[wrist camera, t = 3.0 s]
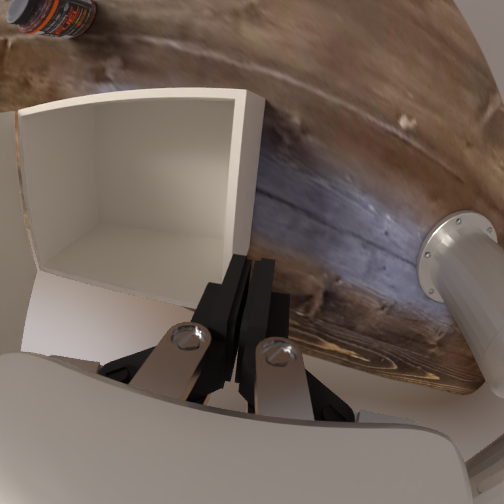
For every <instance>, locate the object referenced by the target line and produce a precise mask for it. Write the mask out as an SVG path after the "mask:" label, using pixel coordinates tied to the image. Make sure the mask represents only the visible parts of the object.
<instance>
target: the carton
mask: <svg viewBox="0 0 504 504" xmlns="http://www.w3.org/2000/svg"><path fill="white" fill-rule="evenodd" d="M265 100H266V99H264V98H262V97H260V96H258V95H256V94H254V93H252V92H250V91H248V90H242V89H224V88H158V89H141V90H129V91H118V92H110V93H102V94H94V95H87V96H81V97H75V98H70V99H64V100H59V101H54V102H50V103H45V104H41V105H37V106H33V107H29V108H25V109H21V110H18V132H19V153H20V166H21V175H22V184H23V192H24V198H25V205H26V211H27V216H28V222H29V227H30V231H31V236H32V240H33V244H34V249H35V253H36V257H37V260H38V264H39V268H40V270H41V271H44V272H48V273H51V274H54V275H57V276H61V277H64V278H68V279H71V280H75V281H79V282H82V283H86V284H90V285H94V286H97V287H101V288H105V289H109V290H113V291H117V292H121V293H125V294H129V295H133V296H138V297H142V298H146V299H151V300H155V301H160V302H164V303H169V304H173V305H178V306H183V307H188V308H193V309H196V308H197V306H198V304H199V302H200V299H201V297H202V295H203V293H204V290H205V288H206V286H207V284H208V282H212V283H218V284H222V282H223V279H224V276H225V274H226V271H227V269H228V266H229V263H230V261H231V258H232V256H233V254H239V255H245V256H247V253H248V250H249V247H250V238H251V229H252V219H253V210H254V201H255V192H256V182H257V173H258V164H259V155H260V146H261V137H262V127H263V118H264V109H265Z"/></svg>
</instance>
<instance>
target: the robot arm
mask: <svg viewBox="0 0 504 504" xmlns="http://www.w3.org/2000/svg"><path fill="white" fill-rule="evenodd" d="M251 262H252V260H248V259H247V256H245V255H239V254H233V256H232V258H231V261H230V263H229V266H228V269H227V271H226V274H225V276H224V279H223V282H222V284H218V283H212V282H208V284H207V286H206V288H205V290H204V293H203V295H202V297H201V299H200V302H199V304H198V306H197V308H196V311H195V313H194V315H193V317H192V320H191V322H183V323H179V324H176V325H175V326H172V327H171V328H170V329H169V330H168V331H167V333H166V334H165V335H164V337H163V338H162V340H161V341H160V342H159V343H158V345H157V346H155V347H152V348H149V349H146V350H144V351H141V352H138V353H135V354H132V355H129V356H126V357H123V358H120V359H117V360H114V361H111V362H109V363H107V364H105V365H104V366H101V365H100V363H99V362H94V361H86V360H80V359H74V358H68V357H62V356H56V355H55V356H54V355H52V356H45V355H42V354H37V353H31V352H19V351H17V352H8V353H5V354H2V355H0V504H504V434H502V435H501V436H500V437H498V438H497V439H496V440H495V441H493V442H492V443H491V444H489V445H488V446H487V447H485V448H484V449H483V450H481V451H480V452H479V453H477V454H476V455H474V456H473V457H472V458H470V459H469V460H468V461H466V462H464V460H463V457H462V454H461V452H460V450H459V448H458V446H457V445H456V443H455V442H454V441H453V440H452V439H451V438H450V437H448V436H447V435H445V434H443V433H441V432H439V431H436V430H433V429H429V428H425V427H422V426H419V425H418V424H417V423H416V422H415V421H413V420H410V419H407V418H401V417H395V416H389V415H384V414H379V413H374V412H369V411H365V410H360V411H359V412H355V411H353V410H352V409H351V408H350V407H349V406H348V404H346V403H345V402H344V401H343V400H341V399H340V398H339V397H338V396H337V395H335V394H334V393H333V392H332V391H331V390H329V389H328V388H327V387H326V386H325V385H323V384H322V383H321V382H320V381H319V380H318V379H316V378H315V377H314V376H313V375H312V374H311V373H310V372H308V371H307V370H306V369H305V367H304V362H303V357H302V353H301V350H300V348H299V347H298V346H297V345H296V344H295V343H294V342H292V341H291V340H289V339H288V330H289V303H290V295H289V294H283V293H276V292H271V290H272V282H273V273H274V265H275V260H272V259H265V258H262V259H261V261H256V262H255V266H254V270H253V275H252V279H251V283H250V288H249V280H250V271H251ZM416 271H417V278H418V281H419V284H420V286H421V288H422V289H423V291H424V292H425V294H426V295H427V296H428V297H430V298H431V299H432V300H435V301H437V302H442V303H445V304H446V306H447V308H448V309H449V311H450V313H451V314H452V316H453V318H454V320H455V321H456V323H457V325H458V327H459V329H460V331H461V332H462V334H463V336H464V338H465V340H466V342H467V344H468V346H469V348H470V350H471V352H472V354H473V356H474V358H475V360H476V362H477V364H478V366H479V368H480V370H481V372H482V374H483V376H484V379H485V381H486V383H487V384H488V386H489V388H490V389H491V390H492V391H493V392H494V393H495V394H496V395H497V396H499V397H501V398H503V399H504V249H503V248H502V247H500V246H499V245H498V241H497V235H496V232H495V229H494V227H493V225H492V224H491V223H490V221H489V220H488V219H486V218H485V217H484V216H483V215H481V214H480V213H478V212H474V211H469V210H463V211H458V212H455V213H453V214H450V215H448V216H447V217H445V218H444V219H442V220H441V221H440V222H439V223H438V224H436V225H435V226H434V227H433V229H432V230H431V231H430V232H429V234H428V235H427V237H426V238H425V240H424V242H423V244H422V246H421V249H420V251H419V255H418V259H417V268H416ZM248 288H249V292H248ZM238 346H239V347H238ZM237 350H238V356H237V367H236V375H235V382H236V383H240V384H239V393H240V394H241V395H242V396H243V397H244V398H245V400H246V401H247V404H246V413H243V412H237V411H232V410H226V409H221V408H215V407H211V406H207V404H208V402H209V400H210V397H211V393H212V392H214V391H216V390H218V389H220V388H222V389H223V387H224V383H225V381H229V382H230V380H231V377H232V372H233V368H234V364H235V358H236V355H237Z"/></svg>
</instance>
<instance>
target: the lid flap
mask: <svg viewBox="0 0 504 504" xmlns="http://www.w3.org/2000/svg"><path fill="white" fill-rule="evenodd" d="M36 274H37V268H36V264H35V261H34V257H33V253H32V249H31V245H30V241H29V237H28V232H27V227H26V222H25V217H24V212H23V206H22V200H21V193H20V186H19V178H18V168H17V157H16V140H15V111H12V112H3V113H0V355H2V354H5V353H8V352H17V351H19V352H20V351H21V344H22V338H23V331H24V326H25V320H26V315H27V310H28V306H29V301H30V297H31V293H32V288H33V284H34V280H35V277H36Z"/></svg>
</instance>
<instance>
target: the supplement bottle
mask: <svg viewBox="0 0 504 504" xmlns="http://www.w3.org/2000/svg"><path fill="white" fill-rule="evenodd" d="M95 14H96V5H95V3H94V1H93V0H13V1H12V2H11V4H10V6H9V9H8V12H7V22H8V23H10V24H16V25H18V28H19V30H20V31H21V32H23V33H28V34H38V35H46V36H54V37H60V38H69V39H70V38H75V37H78V36H79V35H81V34H82V33H84V32H85V31H86V30H87V29H88V27H89V26H90V25H91V23H92V21H93V19H94V17H95Z"/></svg>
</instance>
